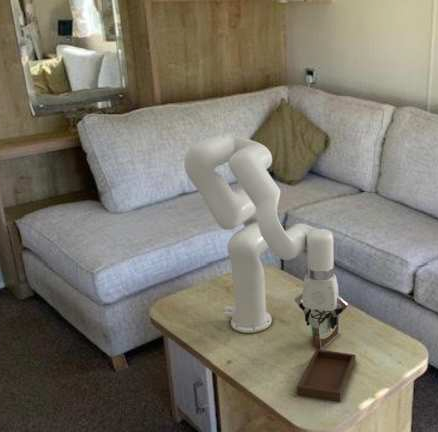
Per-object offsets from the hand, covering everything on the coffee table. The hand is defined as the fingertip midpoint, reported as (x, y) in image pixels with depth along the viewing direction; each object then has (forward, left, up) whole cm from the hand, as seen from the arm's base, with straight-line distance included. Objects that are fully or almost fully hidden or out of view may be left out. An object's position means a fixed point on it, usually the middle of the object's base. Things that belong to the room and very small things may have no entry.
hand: (321, 324), depth 186 cm
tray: (+7, -18, -5) cm, 20 cm away
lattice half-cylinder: (0, 0, -5) cm, 5 cm away
